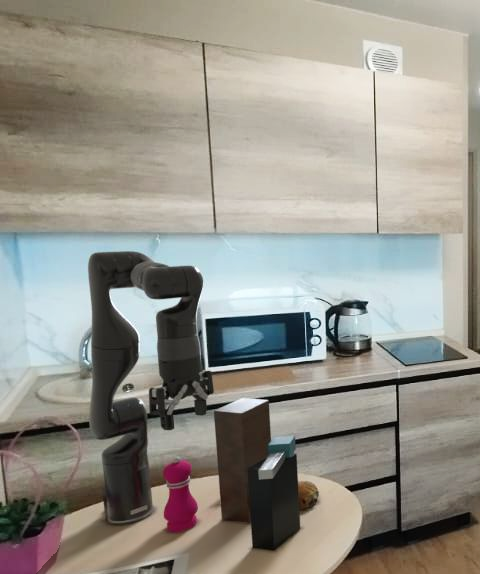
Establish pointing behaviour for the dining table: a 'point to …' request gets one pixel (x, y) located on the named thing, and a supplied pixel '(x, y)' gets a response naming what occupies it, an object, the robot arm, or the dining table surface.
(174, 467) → the pepper mill
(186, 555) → the dining table surface
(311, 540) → the dining table surface
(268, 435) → the plinth
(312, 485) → the bread roll
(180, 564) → the dining table surface
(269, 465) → the handle bar
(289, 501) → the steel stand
